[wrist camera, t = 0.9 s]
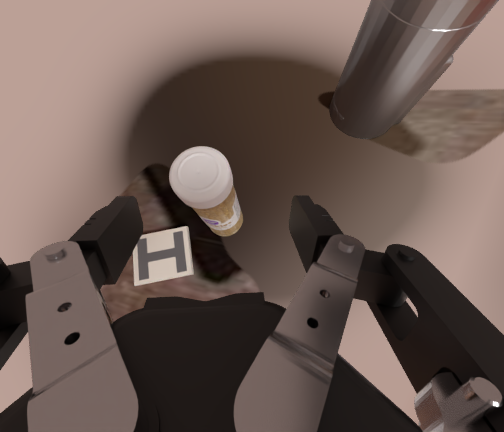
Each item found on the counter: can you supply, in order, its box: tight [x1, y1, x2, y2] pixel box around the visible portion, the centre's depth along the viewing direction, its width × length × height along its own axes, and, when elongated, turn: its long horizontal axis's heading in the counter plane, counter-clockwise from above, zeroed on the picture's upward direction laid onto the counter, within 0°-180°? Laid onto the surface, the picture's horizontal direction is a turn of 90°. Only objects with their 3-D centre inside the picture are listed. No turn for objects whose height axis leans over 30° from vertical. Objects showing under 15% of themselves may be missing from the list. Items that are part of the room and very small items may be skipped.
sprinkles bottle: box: [169, 146, 243, 236], centre depth 22 cm, size 5×5×14 cm
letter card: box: [133, 226, 194, 286], centre depth 28 cm, size 7×6×1 cm
